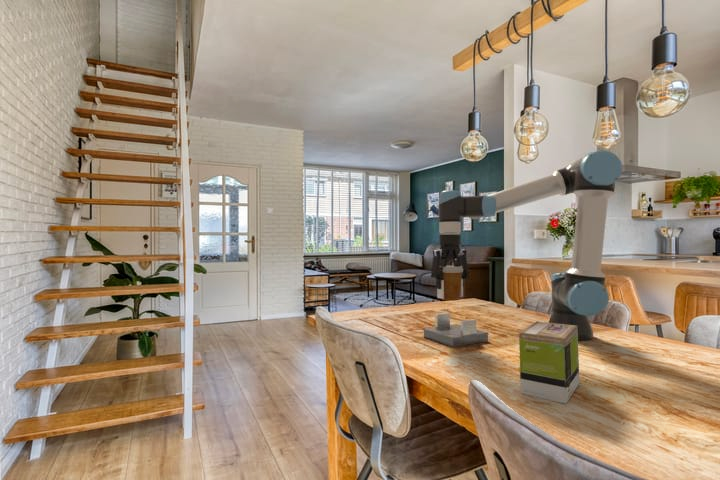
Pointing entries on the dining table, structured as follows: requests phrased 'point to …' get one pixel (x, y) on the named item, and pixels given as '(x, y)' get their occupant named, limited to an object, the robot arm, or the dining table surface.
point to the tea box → (549, 361)
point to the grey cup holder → (455, 332)
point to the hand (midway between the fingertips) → (450, 297)
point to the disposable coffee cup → (452, 282)
